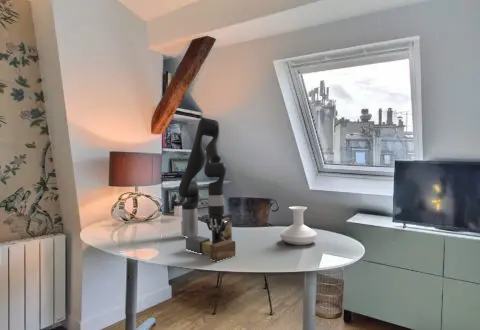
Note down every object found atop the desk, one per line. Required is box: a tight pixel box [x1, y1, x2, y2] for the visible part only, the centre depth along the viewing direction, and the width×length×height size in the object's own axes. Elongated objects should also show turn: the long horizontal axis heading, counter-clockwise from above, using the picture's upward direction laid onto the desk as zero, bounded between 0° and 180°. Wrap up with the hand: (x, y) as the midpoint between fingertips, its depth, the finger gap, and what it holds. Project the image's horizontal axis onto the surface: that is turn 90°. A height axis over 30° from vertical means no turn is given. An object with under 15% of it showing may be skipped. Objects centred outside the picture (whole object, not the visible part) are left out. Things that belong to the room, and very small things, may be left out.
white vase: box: [279, 205, 318, 246], centre depth 186 cm, size 20×20×19 cm
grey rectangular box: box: [185, 235, 211, 253], centre depth 172 cm, size 11×7×7 cm, turn 49°
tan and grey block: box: [201, 230, 221, 256], centre depth 165 cm, size 15×5×12 cm, turn 49°
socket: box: [209, 240, 236, 262], centre depth 160 cm, size 5×12×7 cm, turn 139°
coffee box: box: [218, 213, 233, 242], centre depth 185 cm, size 9×6×16 cm
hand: (216, 239), depth 162 cm, fingers closed
